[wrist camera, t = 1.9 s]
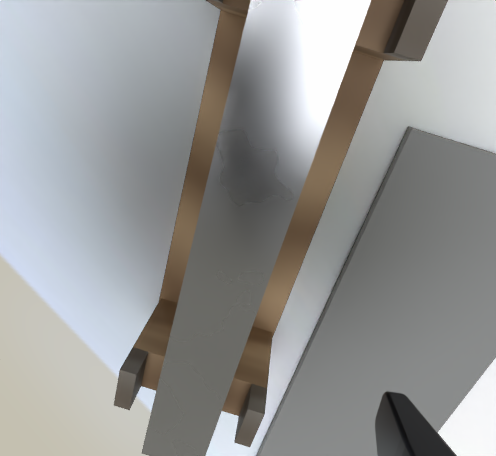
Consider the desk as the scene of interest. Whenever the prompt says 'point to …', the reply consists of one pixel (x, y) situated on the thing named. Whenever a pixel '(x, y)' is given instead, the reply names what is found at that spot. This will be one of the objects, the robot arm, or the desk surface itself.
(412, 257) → the mat
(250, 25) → the rail
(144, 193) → the desk surface
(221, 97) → the standards
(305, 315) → the desk surface
